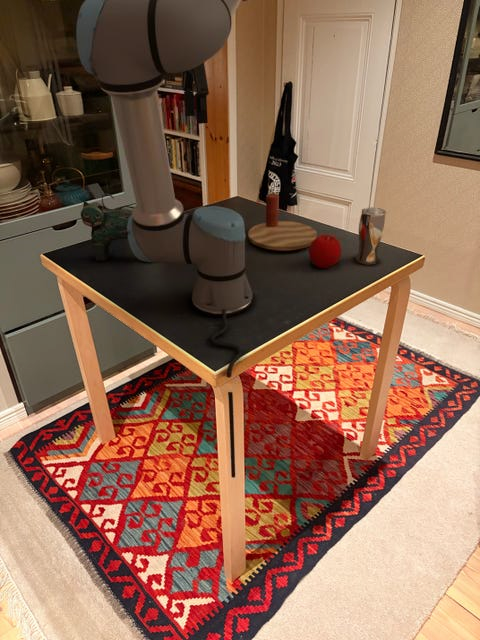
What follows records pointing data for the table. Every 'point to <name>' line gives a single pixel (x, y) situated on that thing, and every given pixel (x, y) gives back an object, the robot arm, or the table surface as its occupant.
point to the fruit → (325, 251)
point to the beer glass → (370, 234)
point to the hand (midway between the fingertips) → (196, 119)
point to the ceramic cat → (105, 225)
